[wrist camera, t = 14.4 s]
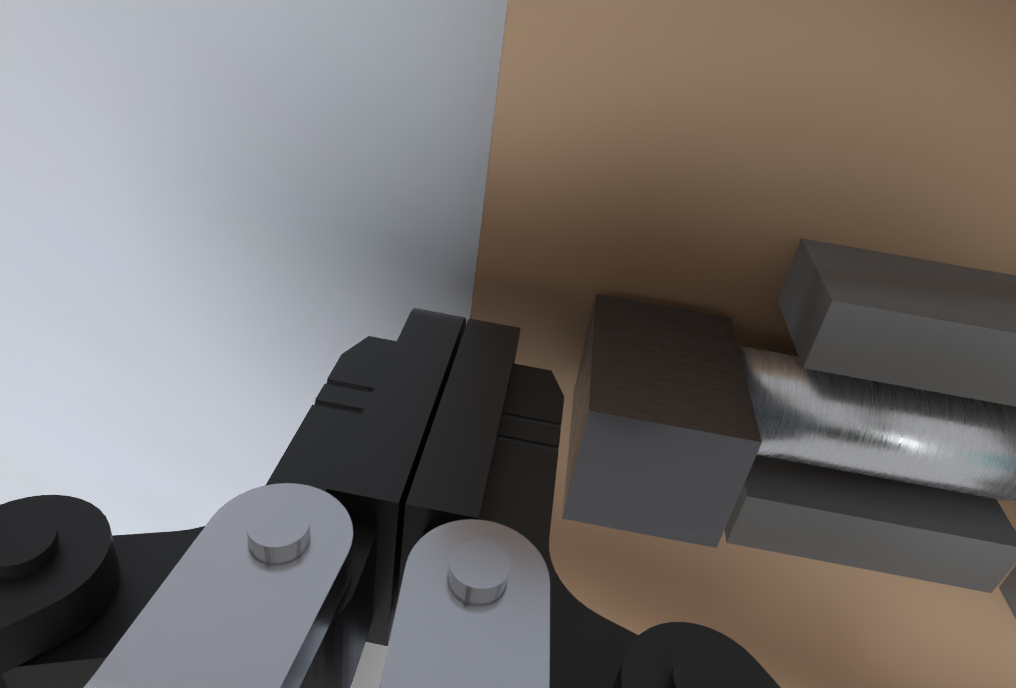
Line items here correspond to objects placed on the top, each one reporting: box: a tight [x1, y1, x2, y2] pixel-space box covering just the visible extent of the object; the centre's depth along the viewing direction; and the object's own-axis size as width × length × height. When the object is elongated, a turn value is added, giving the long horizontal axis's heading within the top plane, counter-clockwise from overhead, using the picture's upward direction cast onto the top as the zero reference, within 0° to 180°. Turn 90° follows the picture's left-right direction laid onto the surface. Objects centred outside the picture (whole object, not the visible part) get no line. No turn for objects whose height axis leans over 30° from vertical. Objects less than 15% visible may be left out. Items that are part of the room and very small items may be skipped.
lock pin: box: [562, 294, 1016, 548], centre depth 10 cm, size 2×9×3 cm, turn 82°
